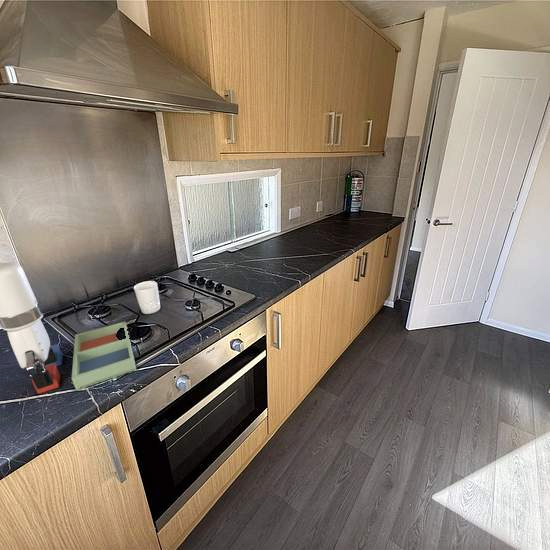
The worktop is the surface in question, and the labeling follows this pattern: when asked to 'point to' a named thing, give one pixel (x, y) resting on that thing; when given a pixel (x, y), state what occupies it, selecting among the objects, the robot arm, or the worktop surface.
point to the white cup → (147, 296)
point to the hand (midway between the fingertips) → (48, 374)
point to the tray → (101, 356)
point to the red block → (55, 378)
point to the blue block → (57, 355)
